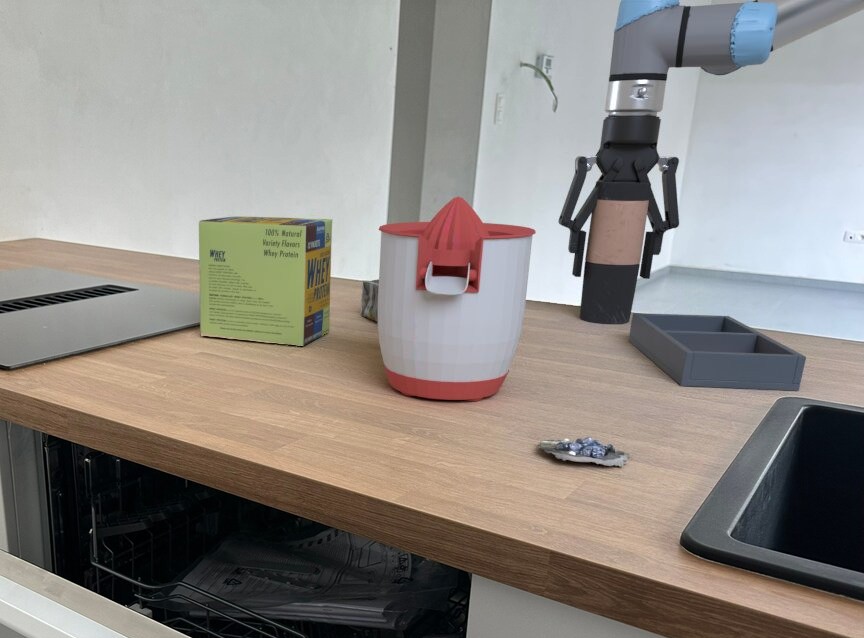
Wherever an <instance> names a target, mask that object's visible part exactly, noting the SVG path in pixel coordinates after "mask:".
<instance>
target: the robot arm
mask: <svg viewBox="0 0 864 638" xmlns="http://www.w3.org/2000/svg"><path fill="white" fill-rule="evenodd" d="M680 3H681V2H680V0H620V2H619V6H618V11H617V16H616V24H615V28H614V30H613V41H612V50H611V57H610V66H609V67H610V68H609V76H608V84H607V91H606V99H605V107H604V111H605V113H608V115H607V116H605V118H604V119H603V121H602V129H601V137H600V144H599V148H598V150H597V152H596V154H595V155H589V156H581V155H580V156H576V158H575V160H574V175H573V178H572V180H571V184H570V187H569V188H568V189H569V190H568V192H567V195H566V197H565V200H564V203H563V207H562V208H561V211H560V215H559V218H558V220H557V221H558V224H559V225H560V226H562V227H564V228H567V229H568V230H569V238H568V247H567V249H568V253H569V254H574V257H573V263H572V271H571V272H572V273H571V275H572V276H573V277H575V278H581V277H582V271H583V262H584V255H585V248H586V247H585V246H586V241H587V240H586V239H587V231H585V230H583V227H584V225H585V224H586V222H587V221H588V219H589V218H590V217H591V214H592V211H593V210H594V208H595V207H596V205H597V200H598V199H597V198H598V191H599V186H600V185H601V184H602V183H601V184H600V185H599V186H598V187H597V188H595V186H596V184H595V185H594V187H593V188H592V190H591V191H590V193H589V195H588V196H587V198H586V199H585V201H584V202H583V204H582V206H581V207H580V209H579V210H578V212H577V213H576V215H575V216H574V218H573V219H572V217H573V214H574V212H575V209H576V206H577V204H578V201H579V198H580V195H581V192H582V190H583V186H584V185H585V181H586V178H587V173H588V172H590V171H592V169H593V166H594V164H595V165H596V166H597V168H598V170H599V171H600V174H601V175H600V176H599V178H598V179H597V181H598V182H616V183H648V184H649V186H650V187H651V189H650V196H649V203H648V211H647V219H648V222H649V224H650V227H651V229H652V231H645V234H644V241H643V248H642V254H641V261H640V268H639V274H638V277H640V278H642V279H644V280H645V279H647V280H649V279H650V278H651V271H652V266H653V265H652V264H653V258H654V256H659V255H660V254H661V252H662V247H663V239H664V234H665V233H666V232H667V231H670V230H672V229H677V228H678V227H679V226H680V216H679V203H678V202H679V201H678V190H677V178H676V175H677V170H678V166H679V163H680V159H679V158H678V157H677V156H661V155H659V152H658V142H659V135H660V130H661V122H662V119H661V118H660V116H658V113H661V112H662V111H663V107H664V100H665V93H666V87H667V85H666V84H667V79H668V73H669V69H670V68H676V69H678V68H679V69H680V68H681V69H682V68H700V69H701V70H703V71H704V72H705V73H707V74H711V75H715V76H726V75H729V74H732V73H734V72H736V71H738V70H740V69H741V68H745V67H747V66H756V65H757V66H758V65H762V64H764V63H766V62H767V61H768V60H769V57H770V54H771V53H772V52H774V51H777V50H778V49H781V48H782V47H785V46H787V45H789V44H791V43H793V42H796V41H798V40H801V39H802V38H805V37H807V36H808V35H811V34H813V33H816V32H817V31H820V30H822V29H824V28H826V27H828V26H831V25H832V24H834V23H837V22H839V21H842V20H844V19H846V18H848V17H850V16H852V15H854V14H856V13H858V12H861V11H863V10H864V0H746V1H745V2H734V3H720V4H719V3H718V4H707V5H706V4H705V5H680ZM656 165H658V171H659V172H660V173H661V184H662V197H663V198H662V199H663V209H664V219H663V216H662V214H661V212H660V208H659V206H658V203H657V200H656V197H655V194H654V192H653V189H652V183H651V181H650V178H649V175H648V174H649V173H650V172H651V171H652V170H653V169H654V167H656ZM650 183H651V184H650Z"/></svg>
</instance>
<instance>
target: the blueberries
mask: <svg viewBox="0 0 864 638" xmlns="http://www.w3.org/2000/svg"><path fill="white" fill-rule="evenodd" d="M536 448H537V449H542V450H544V451H543V452H544V453H547V454H552V455H554V456H555V458H556V459H557V460H558V459H559V460H562V461H564V462H566V461H567V460H568V461H571V462H577V463H578V462H579V463H591V462H592V463H595V464H597V465H599V464H600V465H603V466H608V467H612V466H616V467H617V466H619V467H621V468H623V467H624V465H625V464H627V461H628V459H629V457H631V454H630V453H628V452H626V451H625V450H623V451H622V450H619V449H618V448H617V447H614V446H613V444H612V443H608V444H605V445H604V444H603V443H602V441H600V440H598V439H593V438H592V437H591V436H588V437H585V438H583V439H582V438H577V439H576V440H575V441H570V439H569V438H567V437H564V440H561V439H557V440H556V439H544V440H541V441H540V442H539V443H538V445H537V447H536Z"/></svg>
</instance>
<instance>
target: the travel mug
mask: <svg viewBox="0 0 864 638" xmlns="http://www.w3.org/2000/svg"><path fill="white" fill-rule="evenodd" d="M601 183H602V184H601ZM600 184H601V185H600ZM650 184H651V185H652V183H651V182H650ZM595 185H596V186H595ZM595 185H594V187H595V188H597V187H598V186H599V185H600V186H599V191H598V198H597V199H598V200H597V205H596V207H595V208H594V210H593V211H592V213H591V215H590V222H589V230H588V237H587V243H586V251H585V258H584V267H583V278H582V287H581V288H582V289H581V296H580V297H581V300H580V301H581V302H580V308H579V309H580V310H579V319H580V318H581V319H580V320H582V319H583V320H582V321H585V322H588V323H595V324H606V325H621V324H627V323H629V322H630V319H631V316H632V310H633V304H634V299H635V293H636V288H637V283H638V278H639V273H640V268H641V262H642V255H643V247H644V240H645V233H646V231H645V230H646V225H647V224H646V223H647V219H648V216H647V211H648V203H649V196H650V189H652V186H651V187H650V186H649V184H648V183H616V182H598V180H597V181H596V182H595Z"/></svg>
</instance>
